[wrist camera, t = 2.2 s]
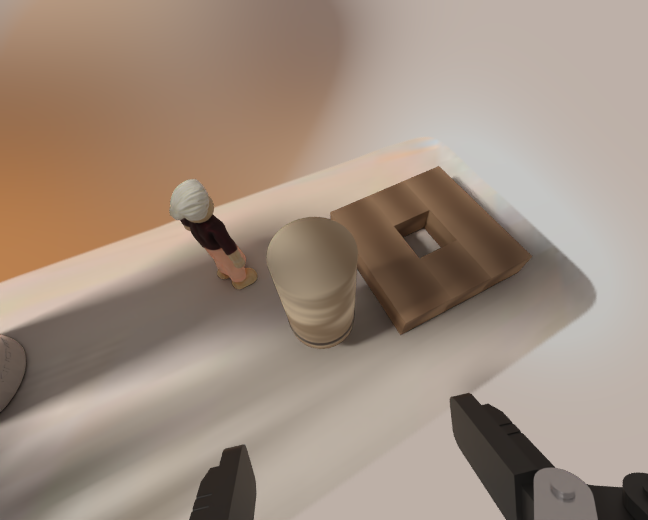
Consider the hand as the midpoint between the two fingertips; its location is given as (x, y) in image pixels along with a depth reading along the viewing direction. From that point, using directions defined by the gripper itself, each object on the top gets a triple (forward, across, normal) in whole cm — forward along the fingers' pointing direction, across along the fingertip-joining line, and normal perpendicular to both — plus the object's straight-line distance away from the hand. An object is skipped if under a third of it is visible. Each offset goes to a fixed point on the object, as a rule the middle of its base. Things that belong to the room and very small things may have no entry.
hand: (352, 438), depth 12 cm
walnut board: (+23, -12, -1) cm, 26 cm away
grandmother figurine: (+24, +8, -2) cm, 26 cm away
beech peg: (+18, 0, +4) cm, 19 cm away
